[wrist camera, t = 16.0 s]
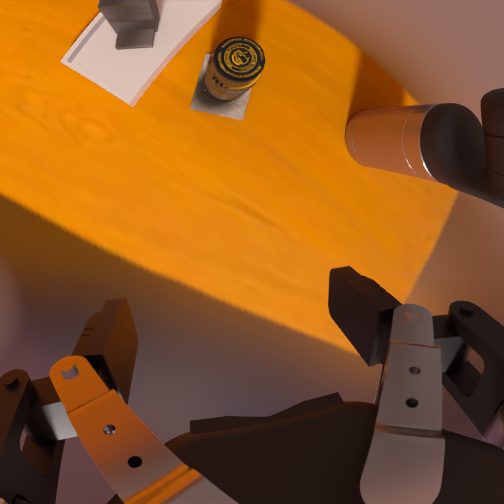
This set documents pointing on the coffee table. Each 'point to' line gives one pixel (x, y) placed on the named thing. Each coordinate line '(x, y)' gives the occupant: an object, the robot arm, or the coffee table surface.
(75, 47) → the board
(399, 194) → the coffee table surface
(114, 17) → the dark block with lip
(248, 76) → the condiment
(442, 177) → the robot arm
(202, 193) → the coffee table surface
